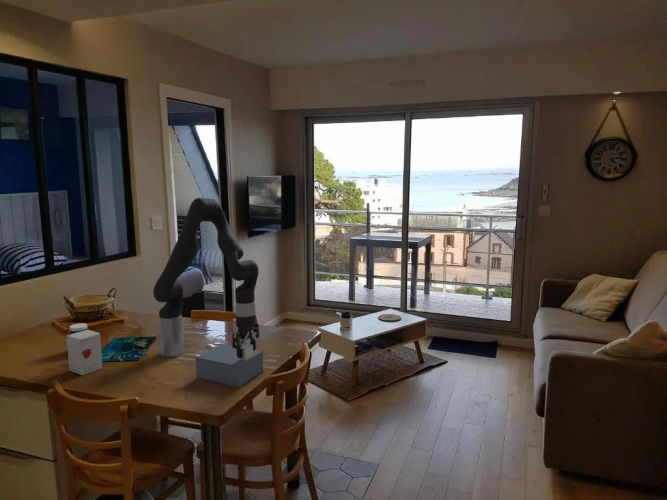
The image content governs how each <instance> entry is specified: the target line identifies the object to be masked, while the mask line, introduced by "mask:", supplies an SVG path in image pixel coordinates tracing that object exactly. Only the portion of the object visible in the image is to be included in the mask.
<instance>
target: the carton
mask: <svg viewBox="0 0 667 500" xmlns="http://www.w3.org/2000/svg"><path fill="white" fill-rule="evenodd" d="M263 355H264V353H261V354H260V355H258V356H257V357H255V358H253V359H252V360H250V361H248V362H247V363H245V364H244V365H242V366H240V367H234V366H229V365H224V364H219V363H214V362H209V361H205V360H200V359H196V358H195V376H196V378H195V379H197V380H201V381H205V382H209V383H210V382H211V383H214V384H219V385H224V386H226V387H233V388H237V389H241V388H242V387H243V386H245V385H246V384H247V383H249V382H251V381H252V380H253V379H255V378H257V377H258V376H259V375H261V374H262V373H264V363H263V362H264V357H263Z"/></svg>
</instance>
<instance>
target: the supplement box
mask: <svg viewBox="0 0 667 500" xmlns="http://www.w3.org/2000/svg"><path fill="white" fill-rule="evenodd" d="M66 335H67V334H66ZM67 345H68V349H67V355H68V368H69V369H68V370H69V371H70V372H72V373H75V374H78V375H80V376H84V375H88V374H89V373H93V372H95V371H98V370H101V369H103V357H102V343H101V333H100V332H98V331H94V330H90V329H89V330H85V331H81V332H77V333H74V334H70V335H67ZM67 345H66V346H67Z"/></svg>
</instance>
